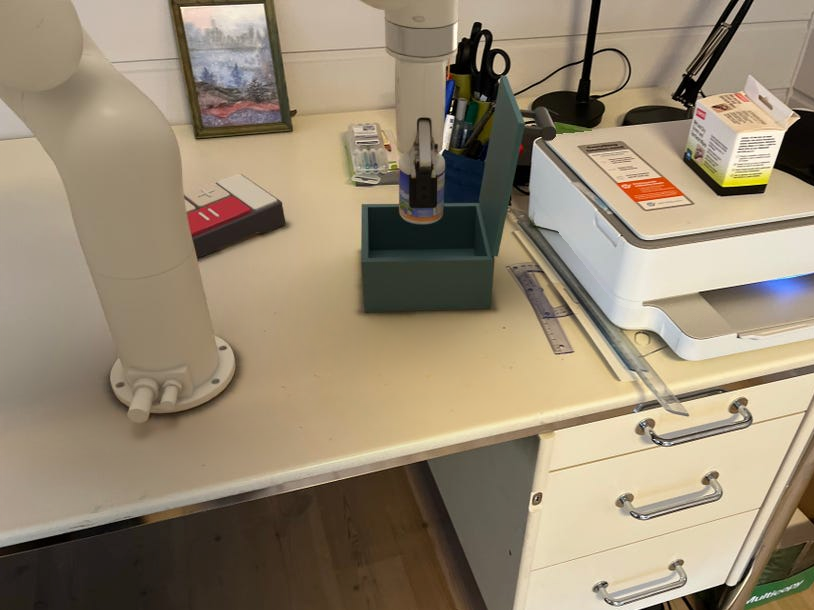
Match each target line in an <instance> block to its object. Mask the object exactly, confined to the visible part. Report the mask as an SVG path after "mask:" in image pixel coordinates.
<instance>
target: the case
mask: <svg viewBox="0 0 814 610" xmlns="http://www.w3.org/2000/svg"><path fill="white" fill-rule="evenodd" d="M360 218H361V223H360V224H361V228H360V229H361V230H360V231H361V233H360V234H361V235H360V237H361V238H360V240H361V242H360V251H361V252H360V264H361V266H360V267H361V281H362V283H361V284H362V296H363V297H362V299H363V312H364V313H387V312H388V313H389V312H424V311H425V312H428V311H429V312H430V311H459V310H460V311H461V310H464V311H465V310H491V309H492V300H493V299H492V297H493V287H494V275H495V274H494V273H495V262H496V261H495V260H496V259H495V256H492V253H491V249H490V245H489V240H488V236H487V232H486V228H485V223H484V219H483V215H482V211H481V206H480V202H449V203H448V202H444V208H443V216H442V217H441V219H440V220H438V221H437V222H434V223H431V224H414V223H410V222H407V221H406V220H404V219H403V218H402V217H401V215H400V212H399V203H362V204H361V217H360Z"/></svg>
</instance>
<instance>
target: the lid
mask: <svg viewBox="0 0 814 610" xmlns="http://www.w3.org/2000/svg"><path fill="white" fill-rule="evenodd" d="M494 106H495V107H494V111H493V117H492V123H491V128H490V130H491V131H490V135H489V139H488V141H489V142H488V145H487V146H488V147H487V152H486V157H485V163H484V167H483V174H482V179H481V186H480V192H479V197H478V203H480V206H481V211H482V215H483V219H484V223H485V228H486V232H487V236H488V240H489V245H490V249H491V253H492V256H494V257H495V258H497V257H499V253H500V249H501V243H502V238H503V233H504V229H505V223H506V220H507V219H506V218H507V215H508V214H507V213H508V209H509V204H510V199H511V195H512V190H513V186H514V185H513V184H514V180H515V175H516V171H517V170H516V169H517V165H518V161H519V156H520V151H521V146H522V140H523V136H524V134H528V135H537V136H540V137H541V139H542V140H543V141H544V142H550V141H552V140H553V139H554V138H555V137H556V134H557V131H556V128H555V126H554V122H553V120H552V117H551V115H550V113H549V111H548V109H547V108H546V107H544V106H538V107H536V108H535V109H534V110H529V109H522V108H521V109H520V107H519V104H518V102H517V98H516V97H515V95H514V92H513V89H512V86H511V84H510V82H509V79H508V76H507V75H503V74H502V75H500V78H499V84H498V89H497V94H496V100H495V105H494ZM524 119H532V120H533V121H534V123H535V125H536V126H535V125H526V122H525V120H524Z"/></svg>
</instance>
